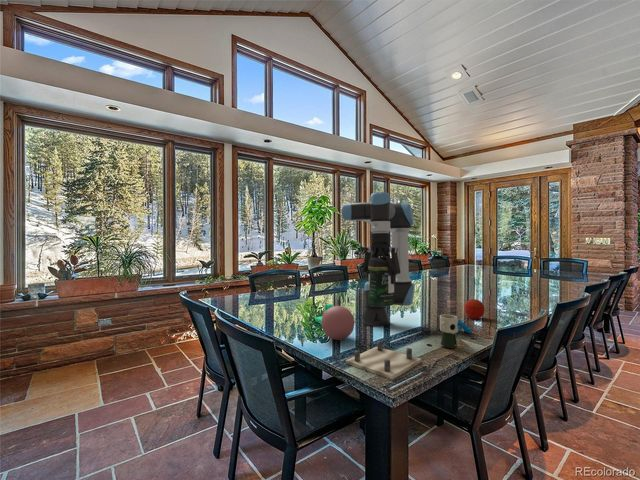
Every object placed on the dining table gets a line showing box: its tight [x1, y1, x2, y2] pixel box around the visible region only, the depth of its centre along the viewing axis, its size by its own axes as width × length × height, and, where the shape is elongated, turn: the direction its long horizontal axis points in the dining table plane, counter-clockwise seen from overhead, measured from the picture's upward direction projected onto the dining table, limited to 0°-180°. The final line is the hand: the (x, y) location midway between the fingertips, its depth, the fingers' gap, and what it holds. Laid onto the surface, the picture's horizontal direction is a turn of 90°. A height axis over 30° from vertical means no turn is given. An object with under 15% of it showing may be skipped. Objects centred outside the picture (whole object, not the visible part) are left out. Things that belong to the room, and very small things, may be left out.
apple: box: [464, 297, 485, 320], centre depth 178 cm, size 10×10×12 cm
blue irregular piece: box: [455, 318, 473, 335], centre depth 152 cm, size 11×6×10 cm
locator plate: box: [345, 340, 422, 380], centre depth 118 cm, size 20×20×5 cm
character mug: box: [439, 313, 459, 349], centre depth 134 cm, size 11×7×13 cm, turn 126°
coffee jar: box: [368, 257, 394, 307], centre depth 122 cm, size 10×8×19 cm
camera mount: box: [314, 303, 334, 325], centre depth 174 cm, size 12×8×10 cm, turn 37°
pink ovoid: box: [320, 305, 355, 341], centre depth 148 cm, size 15×20×15 cm
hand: (381, 291), depth 122 cm, fingers closed on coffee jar, 8 cm apart
